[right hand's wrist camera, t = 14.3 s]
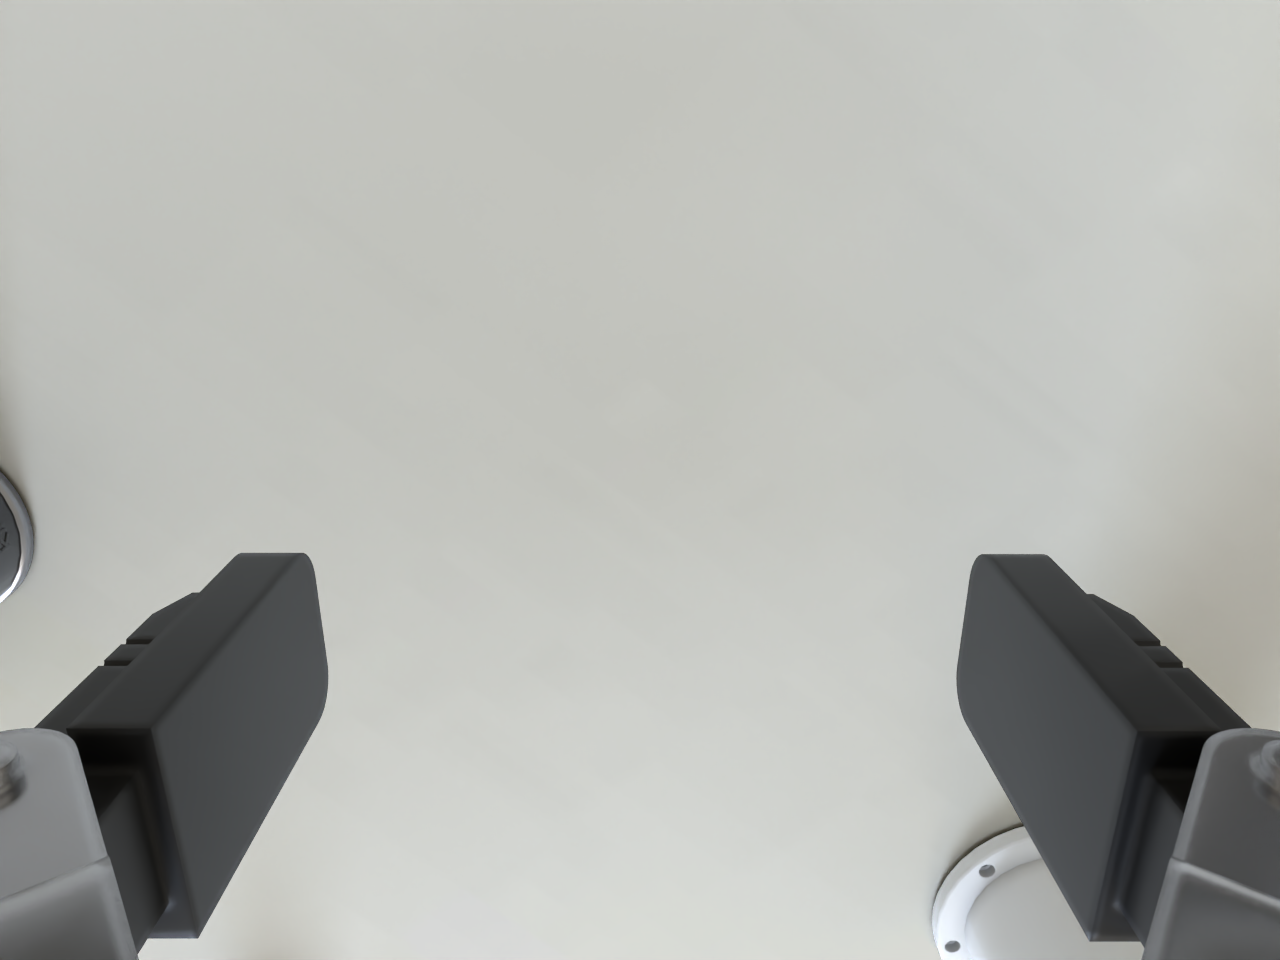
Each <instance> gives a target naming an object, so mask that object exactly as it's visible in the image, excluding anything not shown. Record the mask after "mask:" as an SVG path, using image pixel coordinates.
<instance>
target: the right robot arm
mask: <svg viewBox="0 0 1280 960" xmlns="http://www.w3.org/2000/svg"><path fill="white" fill-rule="evenodd" d="M33 548H34V540H33V531H32V525H31V522H30V518H29V515H28V513H27V510H26V508H25V506H24V504H23V502H22V500H21V498H20V496H19V495H18V493H17V491H16V490H15V488H14V487H13V486H12V484H11V483H10V482H9V480H8V479H7V478H6V477H5V476H4V475H3V473H2V472H1V471H0V602H2V601H3V600H4V599H6V598H7V597H8V596H10V595H11V594H12V593H13V592H14V591H15V590H16V589H17V588H18V587H19V586H20V584H21V583H22V582H23V580H24V578H25V577H26V575H27V573H28V571H29V568H30V565H31V562H32V557H33ZM1182 663H1183V662H1182V661H1181V660H1180V659H1178V658H1177V657H1176V656H1175V655H1174V654H1173V653H1172V652H1171V651H1170V650H1169V649H1168V648H1167V647H1166V646H1161V645H1160V640H1159V639H1157V638H1156V637H1155V636H1154V635H1153V634H1152V633H1151V632H1150V631H1149V630H1148V629H1147V628H1146V627H1145V626H1144V625H1143V624H1142V623H1141V622H1140V621H1139V620H1138V619H1136V618H1135V617H1134V616H1133V615H1131V614H1129V613H1127V612H1126V611H1124V610H1122V609H1120V608H1118V607H1116V606H1114V605H1113V604H1111V603H1109V602H1107V601H1105V600H1103V599H1101V598H1099V597H1098V596H1096V595H1094V594H1086V593H1085V592H1084V591H1083V590H1082V589H1081V588H1080V587H1079V586H1078V585H1077V584H1076V583H1075V582H1074V581H1073V580H1072V579H1071V578H1070V577H1069V576H1068V575H1067V574H1066V573H1065V572H1064V571H1063V570H1062V569H1061V568H1060V567H1059V566H1058V565H1057V564H1056V563H1055V562H1054V561H1053V560H1052V559H1051V558H1050V557H1049V556H1047V555H1045V554H981V555H979V556H978V557H977V558H976V560H975V562H974V564H973V566H972V570H971V574H970V580H969V587H968V594H967V601H966V608H965V615H964V622H963V629H962V637H961V644H960V651H959V658H958V665H957V693H958V700H959V705H960V709H961V712H962V715H963V718H964V720H965V722H966V724H967V726H968V728H969V729H970V731H971V733H972V735H973V736H974V738H975V740H976V742H977V744H978V745H979V747H980V749H981V751H982V752H983V754H984V756H985V758H986V759H987V761H988V763H989V765H990V767H991V768H992V770H993V772H994V774H995V775H996V777H997V779H998V781H999V782H1000V784H1001V786H1002V788H1003V790H1004V791H1005V793H1006V795H1007V797H1008V798H1009V800H1010V802H1011V804H1012V806H1013V807H1014V809H1015V811H1016V813H1017V814H1018V816H1019V818H1020V820H1021V821H1022V823H1023V825H1024V827H1025V829H1026V830H1027V832H1028V834H1029V836H1030V837H1031V839H1032V841H1033V843H1034V844H1035V846H1036V848H1037V850H1038V852H1039V853H1040V855H1041V857H1042V859H1043V860H1044V862H1045V864H1046V866H1047V868H1048V869H1049V871H1050V873H1051V875H1052V876H1053V878H1054V880H1055V882H1056V883H1057V885H1058V887H1059V889H1060V891H1061V892H1062V894H1063V896H1064V898H1065V899H1066V901H1067V903H1068V905H1069V907H1070V908H1071V910H1072V912H1073V914H1074V915H1075V917H1076V919H1077V921H1078V922H1079V924H1080V926H1081V928H1082V930H1083V931H1084V933H1085V935H1086V937H1087V938H1088V940H1089V942H1141V944H1142V945H1143V947H1144V952H1143V955H1142V959H1141V960H1280V732H1278V731H1273V730H1265V729H1257V728H1251V727H1250V726H1249V725H1248V724H1247V723H1246V722H1245V721H1244V720H1242V719H1241V718H1240V717H1239V716H1238V715H1237V714H1236V713H1235V712H1234V711H1233V710H1232V709H1231V708H1230V707H1229V706H1228V705H1227V704H1226V703H1225V702H1224V701H1223V700H1221V699H1220V698H1219V697H1218V696H1217V695H1216V694H1215V693H1214V692H1213V691H1212V690H1211V689H1210V688H1209V687H1208V686H1207V685H1206V684H1205V683H1204V682H1203V681H1202V680H1200V679H1199V678H1198V677H1197V676H1196V675H1195V674H1194V673H1193V672H1192V671H1191V670H1190V669H1189V668H1183V665H1182ZM327 690H328V665H327V658H326V650H325V643H324V636H323V629H322V622H321V614H320V607H319V600H318V593H317V586H316V578H315V572H314V568H313V565H312V562H311V560H310V558H309V557H308V556H307V555H306V554H304V553H240V554H238V555H237V556H235V557H234V558H233V559H232V560H231V561H230V562H229V563H228V564H227V565H226V566H225V567H224V568H223V569H222V570H221V571H220V572H219V573H218V574H217V575H216V576H215V577H214V578H213V579H212V581H211V582H210V583H209V584H208V585H207V586H206V587H205V588H204V589H203V590H202V591H201V592H200V593H191V594H189V595H187V596H185V597H184V598H182V599H180V600H178V601H176V602H174V603H172V604H171V605H169V606H167V607H165V608H163V609H161V610H159V611H157V612H156V613H154V614H152V615H151V616H150V617H149V618H148V619H147V620H146V621H145V622H144V623H143V624H142V625H141V626H140V627H139V628H138V629H137V630H136V631H134V632H133V633H132V634H131V635H130V636H129V637H128V638H127V639H126V644H121V645H120V646H119V647H118V648H117V649H116V650H115V651H114V652H113V653H112V654H111V655H110V656H108V657H107V658H106V659H105V660H104V666H98V667H97V668H96V669H95V670H94V671H93V672H92V673H91V674H90V675H89V676H88V677H87V678H86V679H85V680H84V681H82V682H81V683H80V684H79V685H78V686H77V687H76V688H75V689H74V690H73V691H72V692H71V693H70V694H69V695H68V696H67V697H66V698H65V699H64V700H63V701H62V702H61V703H60V704H59V705H57V706H56V707H55V708H54V709H53V710H52V711H51V712H50V713H49V714H48V715H47V716H46V717H45V718H44V719H43V720H42V721H41V722H40V723H39V724H38V725H37V726H36V727H35V728H23V729H15V730H7V731H2V732H0V960H139V959H138V955H137V954H138V953H139V951H140V950H141V948H142V946H143V945H144V943H145V942H146V940H147V938H198V937H199V936H200V934H201V932H202V930H203V928H204V927H205V925H206V923H207V921H208V919H209V918H210V916H211V914H212V912H213V910H214V909H215V907H216V905H217V903H218V901H219V900H220V898H221V896H222V894H223V893H224V891H225V889H226V887H227V885H228V884H229V882H230V880H231V878H232V876H233V875H234V873H235V871H236V869H237V867H238V866H239V864H240V862H241V860H242V858H243V857H244V855H245V853H246V851H247V849H248V848H249V846H250V844H251V842H252V841H253V839H254V837H255V835H256V833H257V832H258V830H259V828H260V826H261V824H262V823H263V821H264V819H265V817H266V815H267V814H268V812H269V810H270V808H271V806H272V805H273V803H274V801H275V799H276V797H277V796H278V794H279V792H280V790H281V789H282V787H283V785H284V783H285V781H286V780H287V778H288V776H289V774H290V772H291V771H292V769H293V767H294V765H295V763H296V762H297V760H298V758H299V756H300V754H301V753H302V751H303V749H304V747H305V745H306V744H307V742H308V740H309V738H310V737H311V735H312V733H313V731H314V729H315V728H316V726H317V724H318V722H319V720H320V718H321V716H322V713H323V710H324V707H325V702H326V697H327Z"/></svg>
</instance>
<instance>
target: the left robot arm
mask: <svg viewBox="0 0 1280 960" xmlns="http://www.w3.org/2000/svg"><path fill="white" fill-rule="evenodd" d="M932 929H933V935H934V940H935V943H936V945H937V948H938V950H939V953H940V956H941V958H942V960H1141V959H1142V955H1143V952H1144V947H1143V945H1142V944H1141V942H1089V940H1088V938H1087V937H1086V935H1085V933H1084V931H1083V930H1082V928H1081V926H1080V924H1079V922H1078V921H1077V919H1076V917H1075V915H1074V914H1073V912H1072V910H1071V908H1070V907H1069V905H1068V903H1067V901H1066V899H1065V898H1064V896H1063V894H1062V892H1061V891H1060V889H1059V887H1058V885H1057V883H1056V882H1055V880H1054V878H1053V876H1052V875H1051V873H1050V871H1049V869H1048V868H1047V866H1046V864H1045V862H1044V860H1043V859H1042V857H1041V855H1040V853H1039V852H1038V850H1037V848H1036V846H1035V844H1034V843H1033V841H1032V839H1031V837H1030V836H1029V834H1028V832H1027V830H1026V829H1025V827H1024V826H1023V827H1019V828H1015V829H1013V830H1010V831H1008V832H1005V833H1003V834H1000V835H998V836H995V837H993V838H992V839H990V840H988V841H987V842H985V843H983V844H982V845H980V846H978V847H976V848H975V849H974V850H973V851H972V852H970V853H969V854H968V855H967V856H965V857H964V858H963V859H962V860H961V861H960V862H959V863H958V864H957V865H956V866H955V867H954V869H953V870H952V871H951V872H950V873H949V874H948V876H947V877H946V879H945V881H944V882H943V884H942V886H941V888H940V889H939V891H938V894H937V897H936V900H935V903H934V906H933V913H932Z"/></svg>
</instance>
